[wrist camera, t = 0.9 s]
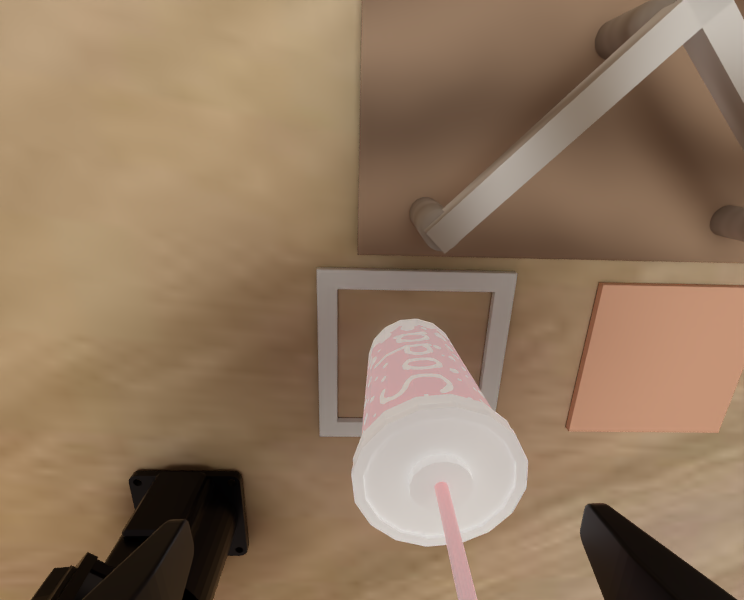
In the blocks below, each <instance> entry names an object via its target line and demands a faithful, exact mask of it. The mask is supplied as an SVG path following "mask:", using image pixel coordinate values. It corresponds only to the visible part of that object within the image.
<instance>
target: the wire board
mask: <svg viewBox="0 0 744 600" xmlns="http://www.w3.org/2000/svg"><path fill="white" fill-rule="evenodd" d="M358 255H402V256H447V257H492V258H537V259H581V260H626V261H671V262H716V263H744V0H362V32H361V89H360V147H359V204H358Z"/></svg>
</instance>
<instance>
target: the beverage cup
mask: <svg viewBox="0 0 744 600" xmlns="http://www.w3.org/2000/svg"><path fill="white" fill-rule="evenodd" d="M527 471H528V459H527V457H526V455H525V453H524V451H523V449H522V447H521V445H520V443H519V441H518V439H517V436H516V434H515V433H514V431H513V429H511V428H510V426H509V423H508V421H507V420H506V419H504V418H503V417H502V416H500V415H499V414H498V413H497V412H495V411H494V410H493V409H492V408H491V407H490V405H489V404H488V402H487V400H486V399H485V397H484V395H483V394H482V392H481V391H480V389H479V387H478V386H477V384H476V382H475V381H474V379H473V378H472V376H471V374H470V373H469V371H468V369H467V368H466V366H465V365H464V363H463V361H462V360H461V358H460V356H459V355H458V353H457V352H456V350H455V348H454V347H453V345H452V343H451V342H450V340H449V339H448V337H447V335H446V334H445V333H444V332H443V331H442V330H441V329H440V328H438V327H437V326H436V325H435V324H433V323H431V322H427V321H424V320H420V319H407V320H399V321H397V322H395V323H393V324H391V325H389V326H387V327H385V328H384V329H383V330H382V331H381V332H380V333H379V334H378V335H377V336H376V338H375V339H374V341H373V343H372V346H371V349H370V352H369V359H368V370H367V381H366V392H365V403H364V415H363V426H362V436H361V438H360V441H359V444H358V446H357V449H356V452H355V454H354V457H353V467H352V473H351V476H352V484H353V492H354V500H355V503H356V505H357V506H358V508H359V509H360V511H361V512H362V513H363V515H364V516H365V518H366V519H367V520H368V522H369V523H370V525H372V526H373V527H375V528H377V529H378V530H380V531H382V532H383V533H385V534H386V535H388V536H390V537H391V538H393V539H395V540H398V541H402V542H407V543H412V544H416V545H421V546H426V547H427V546H439V545H447V549H448V554H449V558H450V563H451V568H452V572H453V577H454V582H455V586H456V591H457V596H458V600H477V596H476V592H475V588H474V584H473V580H472V577H471V573H470V569H469V565H468V561H467V557H466V553H465V549H464V545H463V542H464V541H467V540H470V539H472V538H475V537H477V536H480V535H483V534H485V533H488V532H489V531H491V530H492V529H493V528H494V527H495V526H497V525H498V524H499V523H500V522H502V521H503V520H504V519H505V518H507V517H508V516H509V515H510V514H512V513H513V511H514V509H515V507H516V506H517V504H518V502H519V500H520V498H521V497H522V495H523V493H524V491H525V490H526V488H527Z"/></svg>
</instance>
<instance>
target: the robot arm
mask: <svg viewBox="0 0 744 600" xmlns="http://www.w3.org/2000/svg"><path fill="white" fill-rule="evenodd" d="M138 479H139V480H138ZM231 480H234V481H231ZM129 485H130V490H131V494H132V499H133V503H134V507H135V512H134V513H133V515H132V516H131V518H130V520H129V521H128V523H127V524H126V526H125V528H124V529H123V531H122V535H121V537H120V539H119V540H118V542H117V543H116V545H115V547H114V548H113V550H112V552H111V553H110V555H109V556H108V558H107V560H106V561H105V563H104V562H102V561H100V560H97V558H98V557H97V556H95V555H93V554H91V553H88V552H87V553H86V555H85V556H84V557H83V558H82V559H81V561H80V562H79V563H78V564H77V565H76V567H74V566H70V567H63V568H54V569H53V571H52V572H51V573H50V574H49V576H48V577H47V578H46V580H45V581H44V582H43V584H42V585H41V587H40V588H39V589H38V591H37V592H36V593H35V595H34V596H33V598H32V599H31V600H213V598H214V595H215V592H216V589H217V586H218V583H219V579H220V576H221V573H222V570H223V567H224V564H225V561H226V558H227V556H240V555H244V554H246V553H247V550H248V546H249V541H248V532H247V522H246V512H245V502H244V493H243V483H242V477H241V475H240V474H239V473H238V472H234V471H136V472H134V473H133V475H132V476H131V478H130V479H129ZM580 536H581V540H582V543H583V546H584V549H585V551H586V554H587V556H588V559H589V561H590V564H591V566H592V569H593V572H594V574H595V577H596V579H597V582H598V584H599V587H600V590H601V592H602V595H603V597H604V600H737V599H736V598H734V597H733V596H732V595H730V594H729V593H728V592H726V591H725V590H723V589H722V588H721V587H719V586H718V585H717V584H715V583H714V582H712V581H711V580H710V579H708V578H707V577H706V576H704V575H703V574H702V573H700V572H699V571H697V570H696V569H695V568H693V567H692V566H691V565H689V564H688V563H687V562H685V561H684V560H682V559H681V558H680V557H678V556H677V555H676V554H674V553H673V552H672V551H670V550H669V549H667V548H666V547H665V546H663V545H662V544H661V543H659V542H658V541H656V540H655V539H654V538H652V537H651V536H650V535H648V534H647V533H646V532H644V531H643V530H641V529H640V528H639V527H637V526H636V525H635V524H633V523H632V522H631V521H629V520H628V519H626V518H625V517H624V516H622V515H621V514H620V513H618V512H617V511H616V510H614V509H613V508H611V507H610V506H609V505H607V504H604V503H592V504H587V505H586V506H585V509H584V514H583V519H582V523H581V528H580Z"/></svg>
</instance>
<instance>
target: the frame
mask: <svg viewBox="0 0 744 600" xmlns="http://www.w3.org/2000/svg"><path fill="white" fill-rule="evenodd" d="M516 280H517V273H516V272H515V271H474V270H427V269H379V268H332V267H317V314H318V369H319V423H320V436H323V437H361V436H362V426H363V418H337V378H338V377H337V376H338V289H359V290H411V291H462V292H492V298H491V305H490V313H489V320H488V327H487V334H486V341H485V349H484V356H483V363H482V370H481V377H480V385H479V389H480V391H481V392H482V394H483V395H484V397H485V399H486V400H487V402H488V404H489V405H490V407H491V408H492V409H493V410H494V411H495V412H496V406H497V400H498V393H499V387H500V381H501V375H502V368H503V362H504V356H505V349H506V343H507V337H508V330H509V324H510V318H511V312H512V305H513V299H514V293H515V286H516Z"/></svg>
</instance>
